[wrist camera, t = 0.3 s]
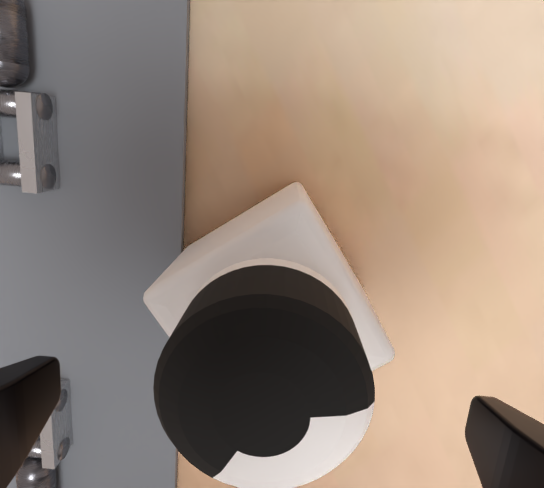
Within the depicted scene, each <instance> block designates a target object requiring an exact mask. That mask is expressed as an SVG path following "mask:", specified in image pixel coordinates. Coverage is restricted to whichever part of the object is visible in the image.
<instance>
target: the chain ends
mask: <svg viewBox="0 0 544 488" xmlns="http://www.w3.org/2000/svg"><path fill="white" fill-rule="evenodd" d="M29 72H30V65H29V49H28V34H27V18H26V7H25V4H24V1H23V0H0V87H5V88H12V87H17V86H19V85H21V84H23V83H24V82H25V81H26V80H27V78H28V76H29ZM1 117H12V118H17V131H18V145H19V158H20V161H9V160H4V153H3V140H2V128H1ZM0 185H7V186H18V187H22V192H23V193H35V194H38V193H42V192H47V191H52V190H56V189H60V172H59V152H58V132H57V111H56V97H50V96H48V95H47V94H46V93H37V92H25V91H13V90H1V89H0ZM72 444H73V434H72V414H71V394H70V379H63V378H61V395H60V399H59V402H58V404H57V406H56V407H55V409H54V411H53V412H52V414H51V416H50V418H49V419H48V421H47V423H46V425H45V426H44V428H43V430H42V432H41V433H40V435H39V437H38V439H37V440H36V442H35V444H34V446H33V447H32V449H31V451H30V453H29V454H28V456H27V458H26V459H25V461H24V463H23V464H22V466H21V468H20V469H19V470H18V472H17V473H16V485H17V488H56V473H55V468H56V467H57V465H58V464H59V462H60V461H61V460H63V459H64V458H65V457H66V455H67V453H68V450H69V448H70V447H71V445H72Z"/></svg>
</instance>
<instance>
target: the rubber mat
mask: <svg viewBox="0 0 544 488" xmlns="http://www.w3.org/2000/svg"><path fill="white" fill-rule="evenodd" d="M23 1H24V4H25V7H26V18H27V34H28V49H29V65H30V72H29V76H28V78H27V80H26V81H25V82H24V83H23V84H21V85H19V86H17V87H12V88H5V87H0V89H1V90H13V91H25V92H37V93H46V94H47V95H48V96H50V97H56V111H57V132H58V152H59V172H60V189H56V190H52V191H47V192H42V193H38V194H35V193H23V192H22V187H18V186H7V185H0V368H2V367H5V366H8V365H11V364H14V363H17V362H20V361H23V360H26V359H29V358H32V357H35V356H40V355H41V356H52V357H56V358H57V359H58V360H59V362H60V376H61V378H63V379H70V394H71V414H72V434H73V444H72V445H71V447H70V448H69V450H68V453H67V455H66V457H65V458H64V459H63V460H61V461H60V462H59V464H58V465H57V467H56V468H55V473H56V488H177V460H178V450H177V448H176V447H175V446H174V445H173V443H172V442H171V441H170V439H169V438H168V436H167V434H166V433H165V431H164V429H163V427H162V425H161V423H160V420H159V417H158V415H157V411H156V407H155V402H154V391H153V385H154V374H155V370H156V366H157V362H158V359H159V357H160V355H161V352H162V350H163V348H164V346H165V344H166V343H167V341H168V339H169V336H168V335H167V334H166V332H165V331H164V329H163V328H162V327H161V325H160V324H159V323H158V321H157V320H156V318H155V317H154V316H153V314H152V313H151V311H150V310H149V309H148V307H147V306H146V305H145V303H144V301H143V296H144V292H145V291H146V290H147V289H148V288H149V287H150V286H151V285H152V284H153V283H154V282H155V281H156V280H157V279H158V277H159V276H160V275H161V274H162V273H163V272H164V271H165V270H166V269H167V268H168V267H169V266H170V265H171V264H172V262H173V261H174V260H175V259H176V258H177V257H178V256H179V255H180V254H181V253H182V252H183V237H184V200H185V163H186V126H187V89H188V52H189V14H190V0H23ZM1 128H2V140H3V153H4V160H9V161H20V158H19V145H18V131H17V118H12V117H1ZM7 488H17V485H16V475H15V476H14V478H13V479H12V481H11V482H10V484H9V485H8V486H7Z"/></svg>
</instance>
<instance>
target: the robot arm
mask: <svg viewBox="0 0 544 488" xmlns="http://www.w3.org/2000/svg"><path fill="white" fill-rule="evenodd" d="M60 395H61V376H60V362H59V360H58V359H57V358H56V357H52V356H41V355H40V356H35V357H32V358H29V359H26V360H23V361H20V362H17V363H14V364H11V365H8V366H5V367H2V368H0V488H7V486H8V485H9V484H10V482H11V481H12V479H13V478H14V476H15V475H16V473H17V472H18V470H19V469H20V468H21V466H22V464H23V463H24V461H25V459H26V458H27V456H28V454H29V453H30V451H31V449H32V447H33V446H34V444H35V442H36V440H37V439H38V437H39V435H40V433H41V432H42V430H43V428H44V426H45V425H46V423H47V421H48V419H49V418H50V416H51V414H52V412H53V411H54V409H55V407H56V406H57V404H58V402H59V399H60ZM465 437H466V442H467V445H468V447H469V450H470V453H471V456H472V459H473V461H474V464H475V467H476V470H477V473H478V475H479V478H480V481H481V484H482V487H483V488H544V424H542V423H540V422H539V421H537V420H535V419H533V418H531V417H530V416H528V415H526V414H524V413H522V412H520V411H519V410H517V409H515V408H513V407H511V406H510V405H508V404H506V403H504V402H502V401H500V400H499V399H497V398H494V397H487V396H475V397H474V398H473V399H472V401H471V405H470V409H469V414H468V418H467V423H466V427H465Z"/></svg>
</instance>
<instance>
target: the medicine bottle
mask: <svg viewBox="0 0 544 488" xmlns="http://www.w3.org/2000/svg"><path fill="white" fill-rule="evenodd" d="M143 301H144V303H145V305H146V306H147V307H148V309H149V310H150V311H151V313H152V314H153V316H154V317H155V318H156V320H157V321H158V323H159V324H160V325H161V327H162V328H163V329H164V331H165V332H166V334H167V335H168V336H169V339H168V341H167V343H166V344H165V346H164V348H163V350H162V352H161V355H160V357H159V359H158V362H157V366H156V370H155V374H154V385H153V391H154V402H155V407H156V411H157V415H158V417H159V420H160V423H161V425H162V427H163V429H164V431H165V433H166V434H167V436H168V438H169V439H170V441H171V442H172V443H173V445H174V446H175V447H176V448H177V450H178V451H179V452H180V453H181V454H182V455H183V456H184V457H185V458H186V459H187V460H188V461H189V462H190V463H191V464H192V465H194V466H195V467H196V468H198V469H199V470H200V471H202V472H203V473H205V474H207V475H208V476H210V477H212V478H214V479H216V480H218V481H221V482H223V483H225V484H229V485H232V486H235V487H239V488H294V487H297V486H301V485H304V484H307V483H309V482H312V481H314V480H316V479H318V478H320V477H322V476H324V475H325V474H327V473H329V472H330V471H331V470H333V469H334V468H335V467H337V466H338V465H339V464H340V463H342V462H343V461H344V460H345V459H346V458H347V457H348V456H349V455H350V454H351V453H352V452H353V451H354V450H355V448H356V447H357V446H358V444H359V443H360V441H361V440H362V438H363V436H364V434H365V432H366V431H367V429H368V426H369V423H370V420H371V417H372V414H373V408H374V402H375V387H374V381H373V374H372V371H373V370H375V369H377V368H379V367H381V366H383V365H385V364H387V363H389V362H390V361H392V360H393V359H394V356H395V351H394V348H393V346H392V344H391V342H390V340H389V338H388V336H387V334H386V332H385V330H384V328H383V326H382V324H381V322H380V320H379V318H378V316H377V315H376V313H375V311H374V309H373V307H372V305H371V303H370V301H369V299H368V297H367V295H366V293H365V291H364V289H363V287H362V286H361V284H360V282H359V281H358V279H357V277H356V275H355V274H354V272H353V270H352V269H351V267H350V265H349V264H348V262H347V260H346V258H345V257H344V255H343V253H342V252H341V250H340V248H339V247H338V245H337V243H336V241H335V240H334V238H333V236H332V235H331V233H330V231H329V230H328V228H327V226H326V224H325V223H324V221H323V219H322V218H321V216H320V214H319V213H318V211H317V209H316V207H315V206H314V204H313V202H312V201H311V199H310V197H309V196H308V194H307V192H306V190H305V189H304V187H303V185H302V184H301V183H299V182H294V183H291V184H290V185H288V186H286V187H285V188H283V189H281V190H280V191H278V192H276V193H275V194H273V195H271V196H270V197H268V198H267V199H265V200H263V201H262V202H260V203H258V204H257V205H255V206H253V207H252V208H250V209H248V210H247V211H245V212H243V213H242V214H240V215H238V216H237V217H235V218H233V219H232V220H230V221H228V222H227V223H225V224H224V225H222V226H220V227H219V228H217V229H215V230H214V231H212V232H210V233H209V234H207V235H205V236H204V237H202V238H200V239H199V240H197V241H195V242H194V243H192V244H190V245H189V246H187V247H186V249H185V250H184V251H183V252H182V253H181V254H180V255H179V256H178V257H177V258H176V259H175V260H174V261H173V262H172V264H171V265H170V266H169V267H168V268H167V269H166V270H165V271H164V272H163V273H162V274H161V275H160V276H159V277H158V279H157V280H156V281H155V282H154V283H153V284H152V285H151V286H150V287H149V288H148V289H147V290H146V291H145V292H144V296H143Z"/></svg>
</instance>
